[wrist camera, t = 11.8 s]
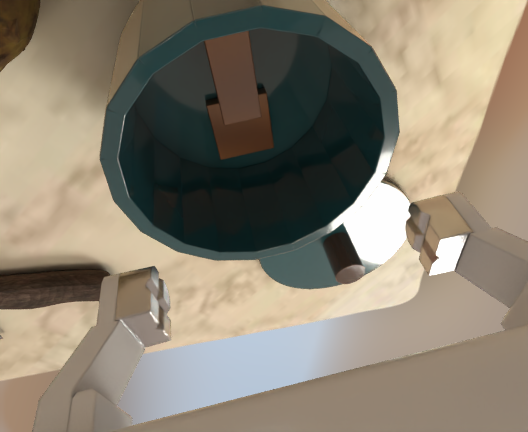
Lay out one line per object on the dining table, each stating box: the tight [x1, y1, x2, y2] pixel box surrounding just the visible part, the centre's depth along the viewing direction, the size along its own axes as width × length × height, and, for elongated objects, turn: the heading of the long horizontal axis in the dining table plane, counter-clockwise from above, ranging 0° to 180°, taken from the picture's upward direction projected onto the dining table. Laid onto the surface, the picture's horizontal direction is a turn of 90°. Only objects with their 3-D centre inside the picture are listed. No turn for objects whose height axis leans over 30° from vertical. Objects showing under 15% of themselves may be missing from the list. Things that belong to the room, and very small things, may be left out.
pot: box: [100, 0, 400, 261], centre depth 22 cm, size 14×15×9 cm
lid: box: [259, 180, 411, 289], centre depth 36 cm, size 15×15×5 cm
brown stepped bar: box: [204, 31, 274, 160], centre depth 24 cm, size 10×4×4 cm, turn 7°
